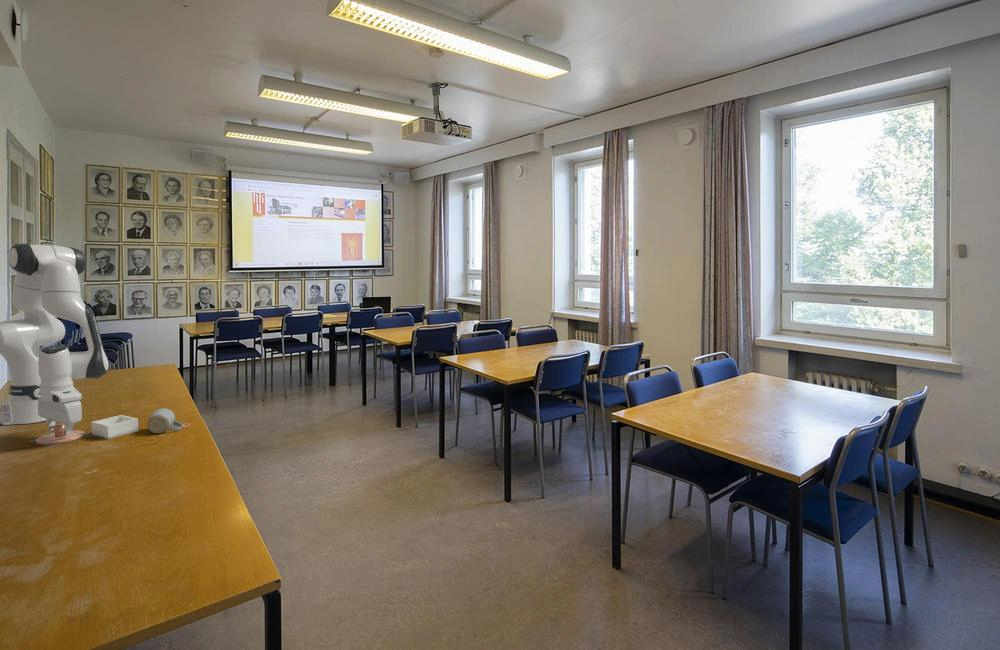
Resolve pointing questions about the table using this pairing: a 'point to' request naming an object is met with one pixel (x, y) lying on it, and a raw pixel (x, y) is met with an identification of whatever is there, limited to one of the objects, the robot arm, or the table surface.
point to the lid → (59, 435)
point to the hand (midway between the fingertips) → (60, 432)
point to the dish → (114, 426)
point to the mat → (59, 443)
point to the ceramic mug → (163, 421)
